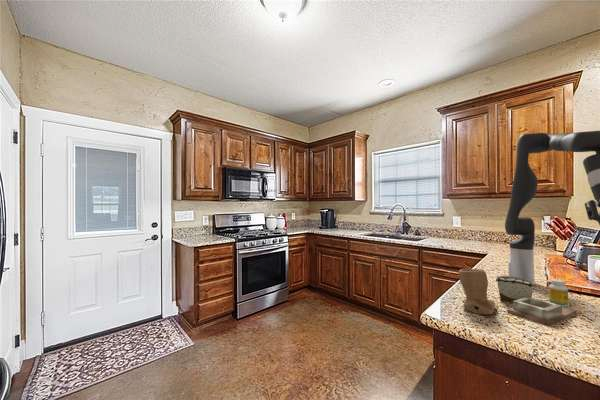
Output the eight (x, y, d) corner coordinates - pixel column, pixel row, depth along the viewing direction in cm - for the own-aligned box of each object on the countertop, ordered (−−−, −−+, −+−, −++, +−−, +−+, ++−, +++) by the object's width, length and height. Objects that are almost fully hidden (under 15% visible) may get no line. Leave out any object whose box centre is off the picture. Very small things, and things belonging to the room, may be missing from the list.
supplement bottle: (551, 301, 106) (550, 277, 106) (570, 305, 101) (569, 280, 101) (547, 304, 103) (546, 280, 103) (566, 308, 98) (565, 283, 98)
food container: (535, 303, 104) (535, 279, 104) (535, 308, 100) (534, 282, 100) (497, 296, 112) (497, 273, 113) (496, 300, 108) (495, 277, 108)
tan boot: (462, 298, 110) (461, 263, 110) (497, 305, 102) (496, 268, 102) (454, 310, 99) (453, 271, 99) (493, 318, 91) (491, 276, 91)
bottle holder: (507, 312, 96) (506, 301, 96) (535, 302, 104) (534, 292, 104) (549, 325, 85) (548, 313, 85) (576, 314, 93) (576, 302, 93)
